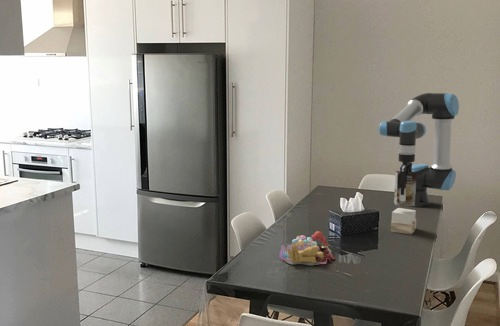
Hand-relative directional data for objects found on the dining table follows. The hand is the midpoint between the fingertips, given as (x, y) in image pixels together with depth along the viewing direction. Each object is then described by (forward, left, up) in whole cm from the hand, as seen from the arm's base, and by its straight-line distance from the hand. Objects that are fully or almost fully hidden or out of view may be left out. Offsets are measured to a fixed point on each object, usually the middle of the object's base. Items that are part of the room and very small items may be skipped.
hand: (404, 198), depth 259 cm
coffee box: (0, 0, -3) cm, 3 cm away
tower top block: (-1, 0, -11) cm, 11 cm away
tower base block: (-1, 0, -16) cm, 16 cm away
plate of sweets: (+54, -28, -17) cm, 63 cm away
